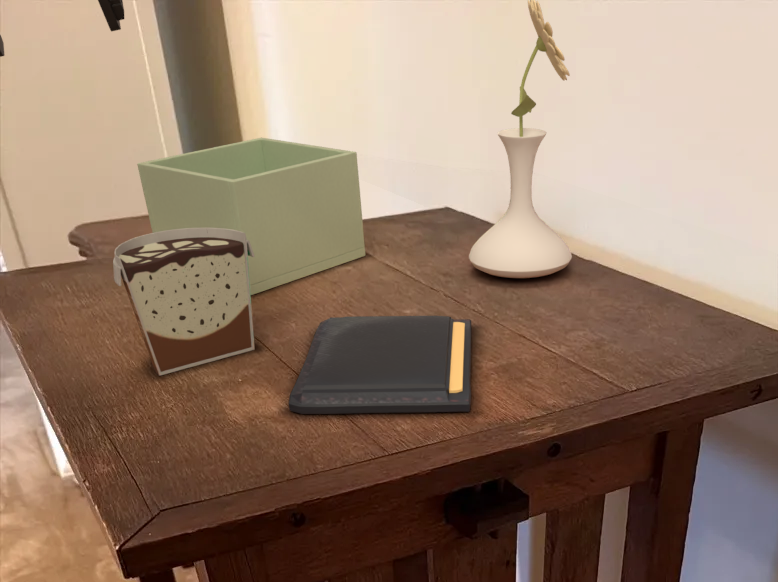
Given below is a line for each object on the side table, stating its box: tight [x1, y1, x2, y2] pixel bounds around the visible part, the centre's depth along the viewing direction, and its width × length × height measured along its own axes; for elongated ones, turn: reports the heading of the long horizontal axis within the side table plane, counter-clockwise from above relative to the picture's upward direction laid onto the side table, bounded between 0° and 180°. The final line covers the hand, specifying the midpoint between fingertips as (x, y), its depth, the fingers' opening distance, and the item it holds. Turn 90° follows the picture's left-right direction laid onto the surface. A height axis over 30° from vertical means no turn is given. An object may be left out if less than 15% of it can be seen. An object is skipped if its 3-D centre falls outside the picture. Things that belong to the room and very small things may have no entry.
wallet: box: [288, 315, 472, 415], centre depth 80 cm, size 20×2×15 cm
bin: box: [136, 137, 366, 296], centre depth 103 cm, size 16×18×11 cm
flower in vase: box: [468, 0, 573, 279], centre depth 95 cm, size 13×11×25 cm
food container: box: [112, 228, 256, 377], centre depth 81 cm, size 12×6×10 cm, turn 130°
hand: (57, 37), depth 66 cm, fingers open, 8 cm apart
